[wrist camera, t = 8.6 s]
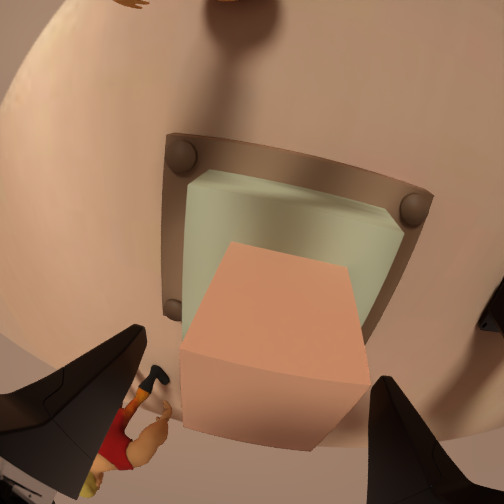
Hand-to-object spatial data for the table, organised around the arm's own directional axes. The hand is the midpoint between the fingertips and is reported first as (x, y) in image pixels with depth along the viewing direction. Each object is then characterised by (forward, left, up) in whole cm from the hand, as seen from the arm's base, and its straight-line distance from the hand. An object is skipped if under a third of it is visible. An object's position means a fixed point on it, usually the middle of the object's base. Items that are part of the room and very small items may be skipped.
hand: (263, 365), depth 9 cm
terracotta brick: (0, 0, -4) cm, 4 cm away
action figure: (+10, +15, -8) cm, 20 cm away
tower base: (0, 0, -8) cm, 8 cm away
